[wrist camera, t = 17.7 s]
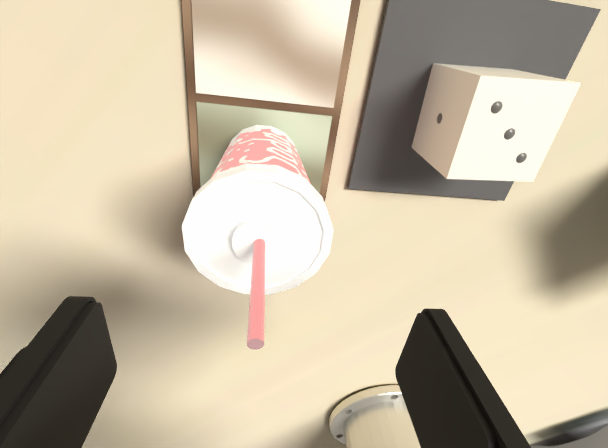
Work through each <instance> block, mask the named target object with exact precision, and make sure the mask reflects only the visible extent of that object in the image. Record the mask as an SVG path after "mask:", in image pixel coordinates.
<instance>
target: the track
mask: <svg viewBox="0 0 608 448" xmlns="http://www.w3.org/2000/svg"><path fill="white" fill-rule="evenodd" d="M359 6H360V0H182V16H183V32H184V48H185V64H186V80H187V96H188V112H189V128H190V144H191V161H192V177H193V193H194V196H195V193H196V192H197V191H198V190H199V189H200V188H201V187H202V186H203V185H204V184H205V183H207V182H208V181H209V180H210V179H211V177H212V175H213V173H214V172H215V170H216V168H217V166H218V164H219V162H220V160H221V159H222V157H223V155H224V153H225V151H226V149H227V148H228V146H229V144H230V142H231V140H232V139H233V138H234V137H235V136H236V135H237V134H238V133H239V132H240V131H242V130H243V129H246V128H249V127H252V126H255V125H264V126H272V127H274V128H276V129H278V130H280V131H282V132H284V133H285V134H286V135H287V136H288V137H289V138H290V139H291V141H292V142H293V143H294V145H295V147H296V150H297V152H298V154H299V157H300V159H301V162H302V164H303V166H304V169H305V171H306V174H307V176H308V178H309V181H310V183H311V185H312V186H313V187H314V188H315V189H316V190H317V192H318V193H319V194H320V195H321V196H322V197H323V200H324V202H325V198H326V192H327V186H328V181H329V175H330V169H331V164H332V158H333V153H334V147H335V141H336V136H337V130H338V124H339V119H340V113H341V107H342V102H343V96H344V90H345V85H346V79H347V73H348V68H349V62H350V56H351V51H352V45H353V39H354V34H355V28H356V22H357V17H358V11H359Z"/></svg>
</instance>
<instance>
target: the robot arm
mask: <svg viewBox="0 0 608 448" xmlns="http://www.w3.org/2000/svg"><path fill="white" fill-rule="evenodd" d="M116 370H117V363H116V359H115V355H114V351H113V347H112V344H111V340H110V336H109V332H108V328H107V324H106V320H105V316H104V312H103V308H102V305H101V303H96V301H95V299H94V298H93V297H74V296H69V297H67V298H66V299H65V300H64V301H63V302H62V303H61V305H60V306H59V307H58V308H57V310H56V311H55V312H54V313H53V315H52V316H51V317H50V318H49V320H48V321H47V322H46V323H45V325H44V326H43V327H42V328H41V330H40V331H39V332H38V333H37V335H36V336H35V337H34V338H33V340H32V341H31V342H30V343H29V345H28V346H26V347H25V348H23V349H21V350H20V351H19V352H18V353H17V354H16V355H15V357H14V358H13V359H12V360H11V362H10V363H9V364H8V365H7V366H6V368H5V369H4V370H3V371H2V373H1V374H0V448H81V447H82V445H83V443H84V441H85V439H86V437H87V435H88V433H89V430H90V428H91V426H92V424H93V422H94V420H95V418H96V416H97V413H98V411H99V409H100V407H101V405H102V403H103V401H104V399H105V396H106V394H107V392H108V390H109V388H110V386H111V384H112V382H113V379H114V377H115V374H116ZM396 379H397V382H398V385H387V386H379V387H374V388H369V389H366V390H363V391H360V392H358V393H356V394H353V395H351V396H350V397H348V398H346V399H345V400H343V401H342V402H341V403H340V404H338V405H337V406H336V408H335V409H334V410H333V411H332V413H331V415H330V419H329V425H330V432H331V434H332V436H333V437H334V438H335V439H336V440H337V441H339V442H340V443H342V444H344V445H346V448H531V447H530V445H529V444H528V442H527V440H526V439H525V437H524V436H523V434H522V432H521V431H520V429H519V428H518V426H517V424H516V423H515V421H514V419H513V418H512V416H511V415H510V413H509V411H508V410H507V408H506V407H505V405H504V403H503V402H502V400H501V399H500V397H499V395H498V394H497V392H496V391H495V389H494V387H493V386H492V384H491V382H490V381H489V379H488V378H487V376H486V374H485V373H484V371H483V370H482V368H481V366H480V365H479V363H478V362H477V360H476V359H475V357H474V356H473V354H472V352H471V351H470V349H469V348H468V346H467V344H466V343H465V341H464V340H463V338H462V336H461V335H460V333H459V331H458V330H457V328H456V327H455V325H454V323H453V322H452V320H451V319H450V317H449V315H448V314H447V312H446V311H445V310H443V309H424V310H423V311H422V312H421V313H418V314H417V316H416V319H415V321H414V324H413V326H412V328H411V331H410V333H409V336H408V338H407V341H406V343H405V346H404V348H403V351H402V353H401V356H400V358H399V361H398V363H397V366H396Z"/></svg>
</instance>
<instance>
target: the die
mask: <svg viewBox="0 0 608 448" xmlns="http://www.w3.org/2000/svg"><path fill="white" fill-rule="evenodd" d="M580 85H581V83H579V82H574V81H569V80H564V79H559V78H554V77H549V76H544V75H539V74H534V73H529V72H524V71H519V70H514V69H503V68H489V67H476V66H463V65H450V64H437V63H433V65H432V69H431V73H430V77H429V81H428V85H427V89H426V93H425V97H424V100H423V104H422V108H421V112H420V116H419V120H418V124H417V128H416V132H415V136H414V140H413V144H412V147H411V148H413V149H414V150H415V151H416V152H417V153H418V154H419V155H420V156H421V157H423V158H424V159H425V160H426V161H427V162H428V163H429V164H430V165H432V166H433V167H434V168H435V169H436V170H437V171H438V172H439V173H440V174H442V175H443V176H444V177H445V178H446V179H464V180H495V181H525V182H533V181H534V179H535V177H536V175H537V173H538V171H539V169H540V167H541V164H542V162H543V160H544V158H545V156H546V154H547V152H548V150H549V148H550V146H551V144H552V142H553V140H554V138H555V136H556V134H557V132H558V130H559V128H560V126H561V123H562V121H563V119H564V117H565V115H566V113H567V111H568V109H569V107H570V105H571V103H572V101H573V99H574V97H575V95H576V93H577V91H578V89H579V87H580Z"/></svg>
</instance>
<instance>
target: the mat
mask: <svg viewBox="0 0 608 448" xmlns="http://www.w3.org/2000/svg"><path fill="white" fill-rule="evenodd" d="M600 10H601V9H595V8H590V7H584V6H578V5H573V4H567V3H561V2H555V1H550V0H387V3H386V8H385V13H384V18H383V22H382V27H381V32H380V36H379V41H378V46H377V50H376V55H375V60H374V65H373V69H372V74H371V79H370V83H369V88H368V93H367V98H366V102H365V107H364V112H363V116H362V121H361V126H360V130H359V135H358V140H357V145H356V149H355V154H354V159H353V163H352V168H351V173H350V178H349V182H348V188H349V189H355V190H369V191H382V192H395V193H409V194H422V195H436V196H449V197H463V198H476V199H489V200H503V201H504V200H505V198H506V196H507V194H508V192H509V190H510V188H511V186H512V184H513V182H514V181H495V180H464V179H446V178H445V177H444V176H443V175H442V174H440V173H439V172H438V171H437V170H436V169H435V168H434V167H433V166H432V165H430V164H429V163H428V162H427V161H426V160H425V159H424V158H423V157H421V156H420V155H419V154H418V153H417V152H416V151H415V150H414V149H413V148H411V147H412V144H413V140H414V136H415V132H416V128H417V124H418V120H419V116H420V112H421V108H422V104H423V100H424V97H425V93H426V89H427V85H428V81H429V77H430V73H431V69H432V65H433V63H437V64H450V65H463V66H476V67H489V68H503V69H514V70H519V71H524V72H529V73H534V74H539V75H544V76H549V77H554V78H559V79H564V80H565V79H566V77H567V75H568V73H569V71H570V69H571V67H572V65H573V63H574V61H575V59H576V57H577V55H578V53H579V51H580V49H581V47H582V45H583V43H584V41H585V39H586V37H587V35H588V33H589V31H590V29H591V27H592V25H593V23H594V21H595V19H596V17H597V16H598V14H599V12H600Z"/></svg>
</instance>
